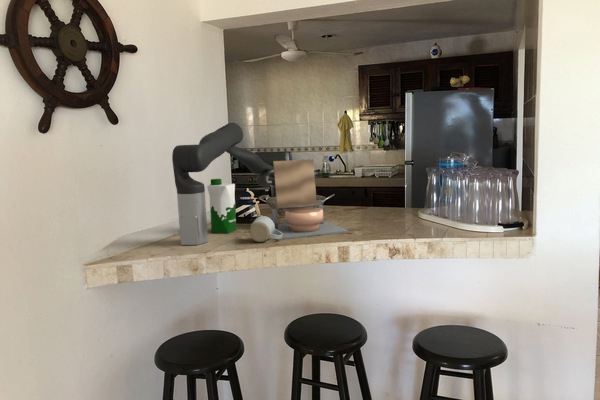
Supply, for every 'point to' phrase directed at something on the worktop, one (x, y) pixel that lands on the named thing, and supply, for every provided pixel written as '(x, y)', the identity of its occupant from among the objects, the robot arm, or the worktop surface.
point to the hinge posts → (275, 220)
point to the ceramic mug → (264, 229)
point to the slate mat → (324, 230)
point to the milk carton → (222, 206)
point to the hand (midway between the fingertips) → (288, 182)
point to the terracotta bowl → (304, 219)
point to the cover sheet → (294, 184)
